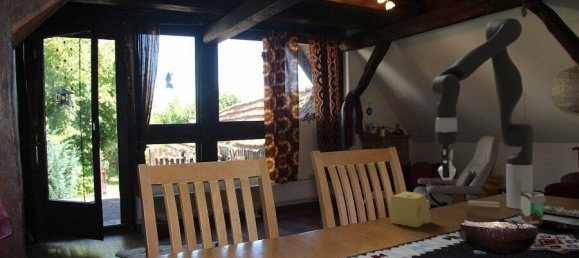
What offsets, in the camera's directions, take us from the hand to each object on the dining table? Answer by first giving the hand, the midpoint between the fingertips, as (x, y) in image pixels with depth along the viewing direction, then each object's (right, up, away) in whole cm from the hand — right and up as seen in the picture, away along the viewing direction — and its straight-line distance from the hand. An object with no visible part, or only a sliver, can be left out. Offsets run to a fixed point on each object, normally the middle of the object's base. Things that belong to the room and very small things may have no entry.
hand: (447, 176), depth 159 cm
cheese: (-15, -16, -6) cm, 23 cm away
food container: (+27, -15, -9) cm, 32 cm away
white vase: (0, -1, 0) cm, 1 cm away
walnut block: (+11, -15, -5) cm, 19 cm away
